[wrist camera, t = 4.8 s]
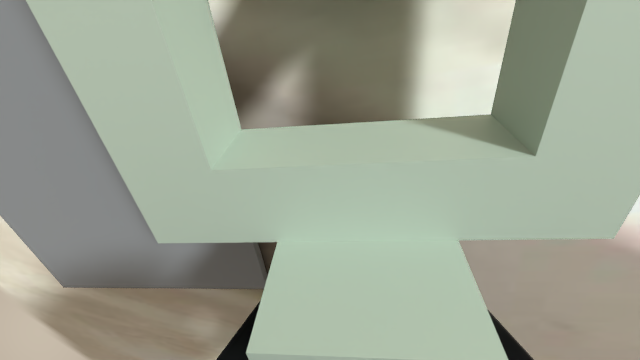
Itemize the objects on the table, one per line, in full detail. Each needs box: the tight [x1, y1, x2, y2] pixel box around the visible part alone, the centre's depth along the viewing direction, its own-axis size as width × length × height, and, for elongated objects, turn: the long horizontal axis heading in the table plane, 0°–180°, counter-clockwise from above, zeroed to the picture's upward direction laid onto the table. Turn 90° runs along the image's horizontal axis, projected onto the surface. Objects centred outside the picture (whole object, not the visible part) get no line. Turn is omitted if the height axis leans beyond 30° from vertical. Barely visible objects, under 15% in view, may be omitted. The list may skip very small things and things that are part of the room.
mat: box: [0, 0, 268, 289], centre depth 11 cm, size 20×12×1 cm, turn 6°
